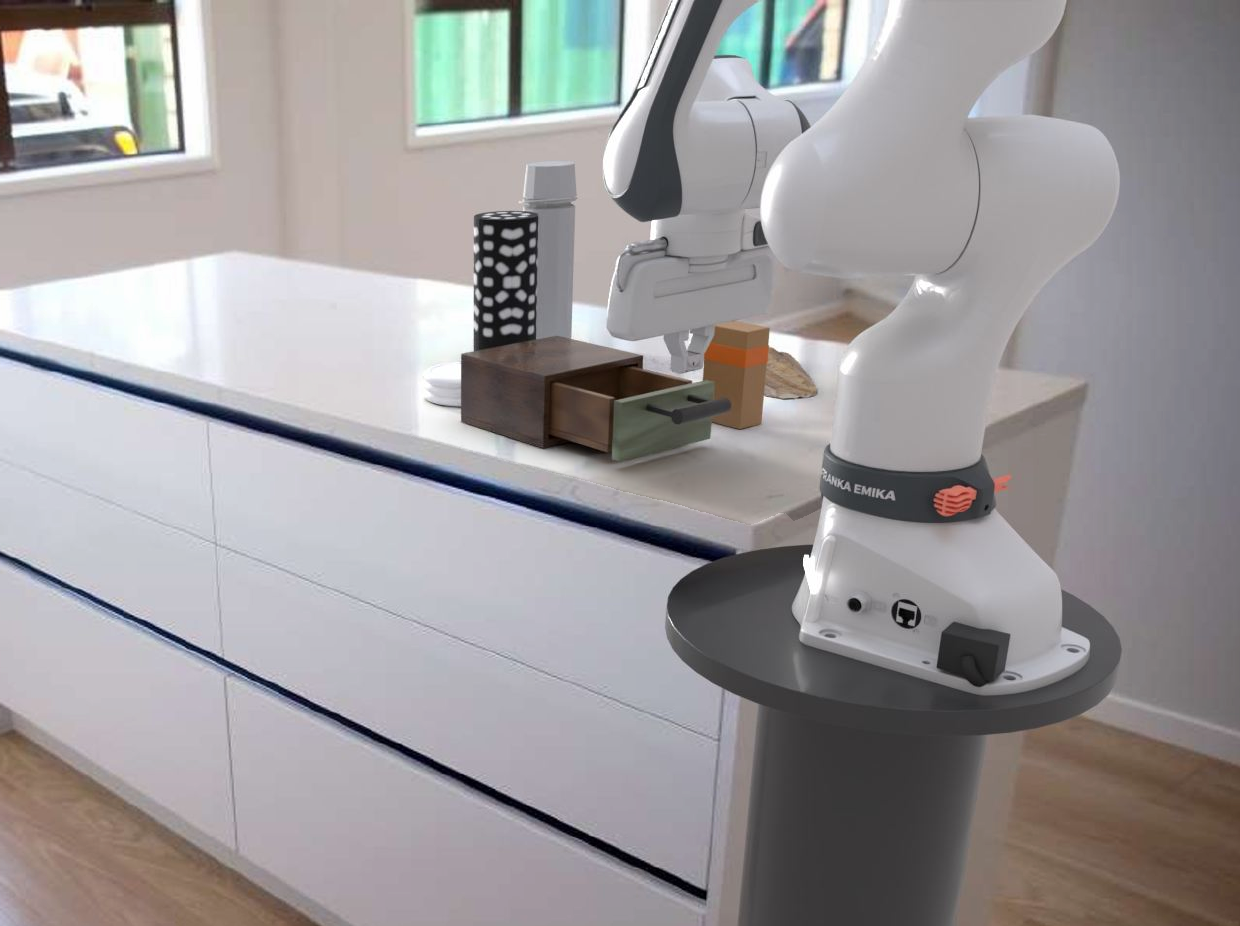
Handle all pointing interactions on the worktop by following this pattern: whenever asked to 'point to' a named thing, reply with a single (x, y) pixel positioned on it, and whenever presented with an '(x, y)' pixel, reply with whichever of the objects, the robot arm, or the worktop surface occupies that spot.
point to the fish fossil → (786, 377)
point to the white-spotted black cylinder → (505, 278)
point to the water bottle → (553, 242)
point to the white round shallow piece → (443, 384)
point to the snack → (738, 371)
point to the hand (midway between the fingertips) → (686, 370)
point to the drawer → (632, 411)
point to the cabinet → (528, 383)
